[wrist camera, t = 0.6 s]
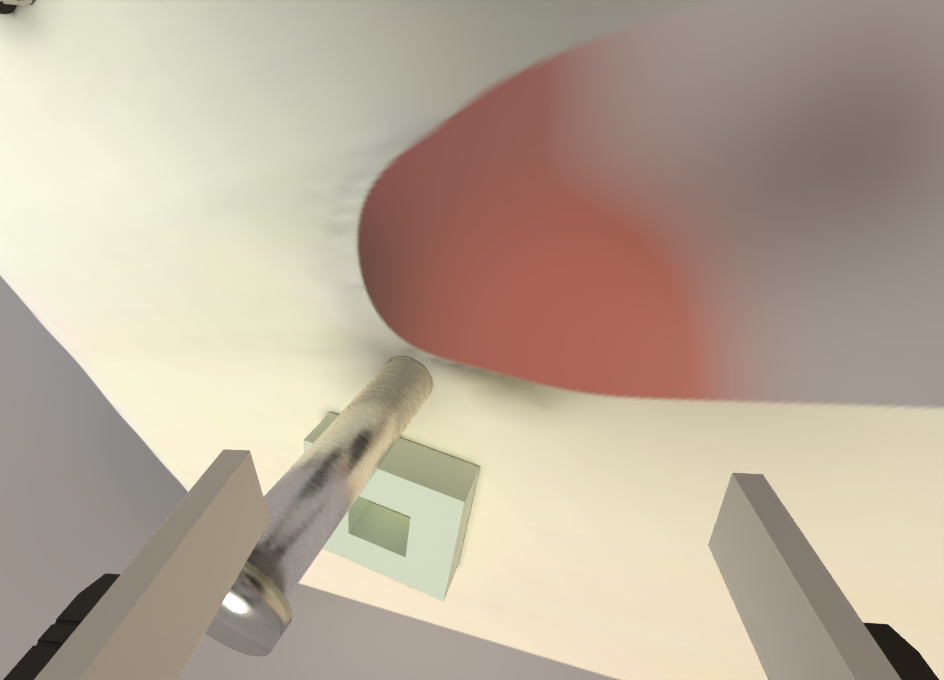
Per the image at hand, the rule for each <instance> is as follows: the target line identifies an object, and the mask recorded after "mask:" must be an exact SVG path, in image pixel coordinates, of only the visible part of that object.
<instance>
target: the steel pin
mask: <svg viewBox="0 0 944 680" xmlns="http://www.w3.org/2000/svg"><path fill="white" fill-rule="evenodd" d="M431 391H432V379H431V376H430V374H429V372H428V371H427V370H426V368H425V367H424V366H423V365H422V364H420V363H419V362H417V361H416V360H414V359H411V358H408V357H396V358H393V359H391V360H390V361H389V362H388V363H387V364H386V365H385V366H384V367H383V368H382V369H381V370H380V372H379V373H378V374H377V375H376V376H375V377H374V378H373V379H372V380H371V381H370V382H369V384H368V385H367V386H366V387H365V388H364V389H363V390H362V391H361V392H360V393H359V394H358V395H357V397H356V398H355V399H354V400H353V401H352V402H351V403H350V404H349V405H348V406H347V407H346V408H345V410H344V411H343V412H342V413H341V414H340V415H339V416H338V417H337V418H336V419H335V420H334V421H333V423H332V424H331V425H330V426H329V427H328V428H327V429H326V430H325V431H324V432H323V433H322V434H321V436H320V437H319V438H318V439H317V440H316V441H315V442H314V443H313V444H312V445H311V446H310V447H309V449H308V450H307V451H306V452H305V453H304V454H303V455H302V456H301V457H300V458H299V459H298V460H297V462H296V463H295V464H294V465H293V466H292V467H291V468H290V469H289V470H288V471H287V472H286V473H285V475H284V476H283V477H282V478H281V479H280V480H279V481H278V482H277V483H276V484H275V485H274V486H273V488H272V489H271V490H270V491H269V492H268V493H267V494H266V495H265V496H264V497H263V498H264V501H265V504H266V508H267V511H268V515H269V518H270V521H269V523H268V525H267V526H266V528H265V530H264V532H263V533H262V535H261V537H260V539H259V540H258V542H257V544H256V546H255V547H254V549H253V551H252V552H251V554H250V556H249V558H248V559H247V561H246V563H245V565H244V566H243V568H242V570H241V572H240V573H239V575H238V577H237V579H236V580H235V582H234V584H233V586H232V587H231V589H230V591H229V593H228V594H227V596H226V598H225V600H224V601H223V603H222V605H221V606H220V608H219V610H218V612H217V613H216V615H215V617H214V619H213V620H212V622H211V624H210V626H209V627H208V629H207V631H206V634H208V635H209V636H210V637H212V638H213V639H215V640H217V641H218V642H220V643H222V644H223V645H226V646H227V647H230V648H231V649H234V650H236V651H239V652H241V653H244V654H248V655H252V656H265V655H268V654H269V653H270V652H271V651H272V650H273V648H274V647H275V645H276V644H277V642H278V641H279V639H280V637H281V636H282V635H283V633H284V632H285V630H286V629H287V627H288V625H289V624H290V622H291V620H292V612H291V608H290V606H289V603H288V602H287V600H286V599H287V598H288V596H289V595H290V594H291V592H292V591H293V589H294V588H295V586H296V585H297V584H298V582H299V581H300V579H301V578H302V576H303V575H304V574H305V572H306V571H307V569H308V568H309V566H310V565H311V564H312V562H313V561H314V559H315V558H316V556H317V555H318V554H319V552H320V551H321V549H322V548H323V546H324V545H325V544H326V542H327V541H328V539H329V538H330V536H331V535H332V533H333V532H334V531H335V529H336V528H337V526H338V525H339V523H340V522H341V521H342V519H343V518H344V516H345V515H346V513H347V512H348V511H349V509H350V508H351V506H352V505H353V503H354V502H355V501H356V499H357V498H358V496H359V495H360V493H361V492H362V491H363V489H364V488H365V486H366V485H367V483H368V482H369V481H370V479H371V478H372V476H373V475H374V473H375V472H376V471H377V469H378V468H379V466H380V465H381V463H382V462H383V460H384V459H385V458H386V456H387V455H388V453H389V452H390V450H391V449H392V448H393V446H394V445H395V443H396V442H397V440H398V439H399V438H400V436H401V435H402V433H403V432H404V430H405V429H406V428H407V426H408V425H409V423H410V422H411V420H412V419H413V418H414V416H415V415H416V413H417V412H418V410H419V409H420V408H421V406H422V405H423V403H424V402H425V400H426V399H427V398H428V396H429V395H430V393H431Z"/></svg>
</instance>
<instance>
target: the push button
mask: <svg viewBox="0 0 944 680" xmlns="http://www.w3.org/2000/svg"><path fill="white" fill-rule="evenodd" d="M32 1H33V0H0V13H2V14H9V13H12V12H13V11H14V9H15V8H16V6H17V5H21V6H27V5H30V4H31V2H32Z"/></svg>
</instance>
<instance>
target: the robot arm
mask: <svg viewBox="0 0 944 680" xmlns="http://www.w3.org/2000/svg"><path fill="white" fill-rule="evenodd" d="M269 521H270V518H269V515H268V511H267V508H266V504H265V501H264V498H263V494H262V491H261V487H260V484H259V480H258V477H257V474H256V470H255V467H254V463H253V460H252V457H251V453H250V451H245V450H223V451H222V452H221V453H220V455H219V456H218V457H217V458H216V459H215V461H214V462H213V463H212V464H211V466H210V467H209V468H208V469H207V470H206V472H205V473H204V474H203V475H202V476H201V478H200V479H199V480H198V481H197V483H196V484H195V485H194V486H193V487H192V489H191V490H190V491H189V492H188V494H187V495H186V496H185V497H184V498H183V500H182V501H181V502H180V503H179V504H178V506H177V507H176V508H175V509H174V510H173V512H172V513H171V514H170V515H169V517H168V518H167V519H166V520H165V521H164V523H163V524H162V525H161V526H160V527H159V529H158V530H157V531H156V532H155V534H154V535H153V536H152V537H151V538H150V540H149V541H148V542H147V543H146V544H145V546H144V547H143V548H142V549H141V551H140V552H139V553H138V554H137V556H136V557H135V558H134V559H133V560H132V561H131V563H130V564H129V565H128V566H127V568H126V569H125V570H124V571H123V573H122V574H121V575H120V574H104V575H103V576H102V577H101V578H99V579H98V580H96V581H95V582H94V583H92V584H91V585H90V586H89V587H87V588H86V589H85V590H83V591H82V592H81V593H79V594H78V595H77V596H76V598H75V599H74V600H73V601H72V602H71V603H70V604H69V606H68V607H67V608H66V609H65V610H64V611H63V612H62V614H61V615H60V616H59V617H58V618H57V619H56V623H55V624H54V625H51V626H50V627H49V628H48V629H47V631H46V632H45V633H44V634H43V635H42V636H41V637H40V638H39V640H38V643H37V645H36V646H32V648H31V649H30V650H29V651H28V652H27V653H26V654H25V656H24V657H23V658H22V659H21V660H20V661H19V662H18V664H17V665H16V666H15V667H14V668H13V669H12V670H11V672H10V673H9V674H8V675H7V676H6V677H5V678H4V680H179V678H180V676H181V674H182V673H183V671H184V669H185V667H186V665H187V664H188V662H189V660H190V658H191V657H192V655H193V653H194V652H195V650H196V648H197V647H198V644H199V643H200V641H201V640H202V638H203V636H204V634H205V633H206V631H207V629H208V627H209V626H210V624H211V622H212V620H213V619H214V617H215V615H216V613H217V612H218V610H219V608H220V606H221V605H222V603H223V601H224V600H225V598H226V596H227V594H228V593H229V591H230V589H231V587H232V586H233V584H234V582H235V580H236V579H237V577H238V575H239V573H240V572H241V570H242V568H243V566H244V565H245V563H246V561H247V559H248V558H249V556H250V554H251V552H252V551H253V549H254V547H255V546H256V544H257V542H258V540H259V539H260V537H261V535H262V533H263V532H264V530H265V528H266V526H267V525H268V523H269ZM708 545H709V548H710V550H711V552H712V554H713V557H714V559H715V561H716V563H717V566H718V568H719V570H720V572H721V575H722V577H723V579H724V581H725V584H726V586H727V588H728V590H729V593H730V595H731V597H732V599H733V602H734V604H735V606H736V608H737V611H738V613H739V615H740V617H741V619H742V622H743V624H744V626H745V628H746V631H747V633H748V635H749V637H750V640H751V642H752V644H753V646H754V649H755V651H756V653H757V655H758V658H759V660H760V662H761V664H762V667H763V669H764V671H765V673H766V676H767V678H768V680H939V679H938V678H937V676H936V675H935V674H934V672H933V671H932V669H931V668H930V667H929V665H928V664H927V663H926V661H925V660H924V659H923V657H922V656H921V655H920V653H919V652H918V651H917V650H916V649H915V648H914V647H912V646H911V645H910V644H909V643H908V642H907V641H906V640H905V639H903V638H902V637H901V636H900V635H899V634H898V633H897V632H896V631H895V630H893V629H892V628H891V627H890V626H889V625H888V624H875V623H863V622H862V621H861V619H860V618H859V616H858V615H857V613H856V612H855V610H854V609H853V607H852V606H851V604H850V603H849V601H848V600H847V598H846V597H845V596H844V594H843V593H842V591H841V590H840V588H839V587H838V585H837V584H836V582H835V581H834V579H833V578H832V576H831V575H830V573H829V572H828V570H827V569H826V567H825V566H824V564H823V563H822V561H821V560H820V559H819V557H818V556H817V554H816V553H815V551H814V550H813V548H812V547H811V545H810V544H809V542H808V541H807V539H806V538H805V536H804V535H803V533H802V532H801V530H800V529H799V527H798V526H797V524H796V523H795V522H794V520H793V519H792V517H791V516H790V514H789V513H788V511H787V510H786V508H785V507H784V505H783V504H782V502H781V501H780V499H779V498H778V496H777V495H776V493H775V492H774V490H773V489H772V487H771V486H770V485H769V483H768V482H767V480H766V479H765V477H764V476H763V474H743V473H732V475H731V478H730V481H729V484H728V487H727V490H726V493H725V496H724V499H723V502H722V505H721V508H720V511H719V514H718V517H717V520H716V523H715V526H714V529H713V532H712V535H711V538H710V541H709V544H708Z"/></svg>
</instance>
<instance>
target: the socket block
mask: <svg viewBox="0 0 944 680" xmlns="http://www.w3.org/2000/svg"><path fill="white" fill-rule="evenodd" d="M338 416H339V415H338V414H335V413H332V412H330V413H329V414H328V415H327V416H326V417H325V418H324V419H323V420H322V422H321V423H320V424H319V425H318V426H317V427H316V428H315V429H314V430H313V431H312V432H311V433H310V434H309V435H308V436H307V437H306V438H305V439H304V452H306V451H307V450H308V449H309V447H310V446H311V445H312V444H313V443H314V442H315V441H316V440H317V439H318V438H319V437H320V436H321V434H322V433H323V432H324V431H325V430H326V429H327V428H328V427H329V426H330V425H331V424H332V423H333V421H334V420H335V419H336V418H337V417H338ZM479 470H480V467H479V466H476V465H474V464H471V463H468V462H465V461H463V460H460V459H457V458H454V457H452V456H449V455H446V454H444V453H441V452H438V451H435V450H433V449H430V448H427V447H425V446H422V445H419V444H416V443H414V442H411V441H408V440H406V439H403V438H399V439H398V440H397V442H396V443H395V445H394V446H393V448H392V449H391V450H390V452H389V453H388V455H387V456H386V458H385V459H384V460H383V462H382V463H381V465H380V466H379V468H378V469H377V471H376V472H375V473H374V475H373V476H372V478H371V479H370V481H369V482H368V483H367V485H366V486H365V488H364V489H363V491H362V492H361V493H360V495H359V496H358V498H357V499H356V501H355V502H354V503H353V505H352V506H351V508H350V509H349V511H348V512H347V513H346V515H345V516H344V518H343V519H342V521H341V522H340V523H339V525H338V526H337V528H336V529H335V531H334V532H333V533H332V535H331V536H330V538H329V539H328V541H327V542H326V544H325V545H324V546H323V549H325V550H327V551H329V552H332V553H334V554H336V555H339V556H341V557H343V558H345V559H348V560H350V561H352V562H355V563H357V564H359V565H362V566H364V567H366V568H368V569H371V570H373V571H375V572H378V573H380V574H382V575H384V576H387V577H389V578H391V579H394V580H396V581H398V582H400V583H403V584H405V585H407V586H410V587H412V588H414V589H416V590H419V591H421V592H423V593H426V594H428V595H430V596H432V597H435V598H437V599H439V600H442V601H444V599H445V597H446V594H447V591H448V589H449V586H450V584H451V581H452V579H453V576H454V574H455V571H456V569H457V566H458V563H459V558H460V554H461V550H462V545H463V541H464V536H465V532H466V527H467V523H468V519H469V514H470V510H471V505H472V501H473V496H474V492H475V488H476V483H477V479H478V474H479ZM370 501H373V502H375V503H378V504H380V505H383V506H385V507H388V508H390V509H392V510H395V511H397V512H400V513H402V514H405V515H407V516H410V518H409V517H407V516H404V515H402V514H399V513H397V512H394V511H392V510H389V509H387V508H385V507H382V506H380V505H377V504H375V503H372V502H370Z"/></svg>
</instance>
